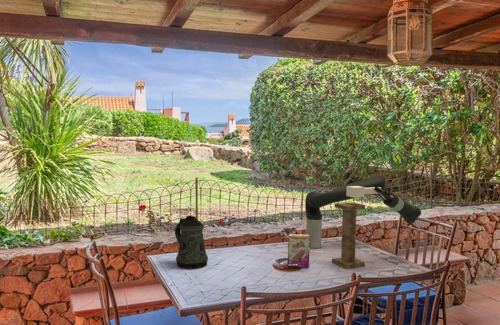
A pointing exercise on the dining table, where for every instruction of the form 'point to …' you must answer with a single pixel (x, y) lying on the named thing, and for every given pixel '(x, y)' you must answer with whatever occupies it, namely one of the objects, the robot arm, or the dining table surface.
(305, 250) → the candy bar box
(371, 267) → the dining table surface
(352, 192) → the handle block
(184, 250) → the beer stein
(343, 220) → the stand
